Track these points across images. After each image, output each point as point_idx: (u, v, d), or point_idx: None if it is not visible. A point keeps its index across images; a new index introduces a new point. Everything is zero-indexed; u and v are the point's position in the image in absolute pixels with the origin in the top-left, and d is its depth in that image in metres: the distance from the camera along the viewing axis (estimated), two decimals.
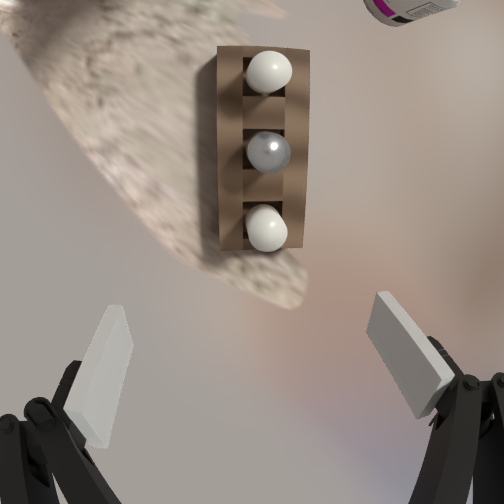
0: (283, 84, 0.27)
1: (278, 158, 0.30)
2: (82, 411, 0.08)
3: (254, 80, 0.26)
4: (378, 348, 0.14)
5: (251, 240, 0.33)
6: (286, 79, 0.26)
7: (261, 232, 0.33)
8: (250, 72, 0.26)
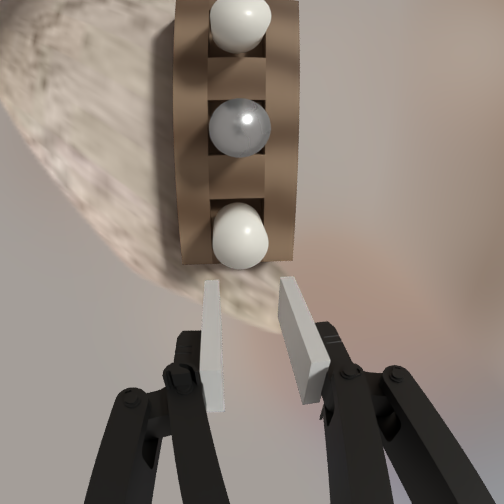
0: (259, 32, 0.17)
1: (252, 135, 0.20)
2: (220, 369, 0.10)
3: (217, 28, 0.16)
4: (283, 332, 0.16)
5: (217, 253, 0.24)
6: (263, 26, 0.17)
7: (231, 242, 0.23)
8: (211, 19, 0.16)
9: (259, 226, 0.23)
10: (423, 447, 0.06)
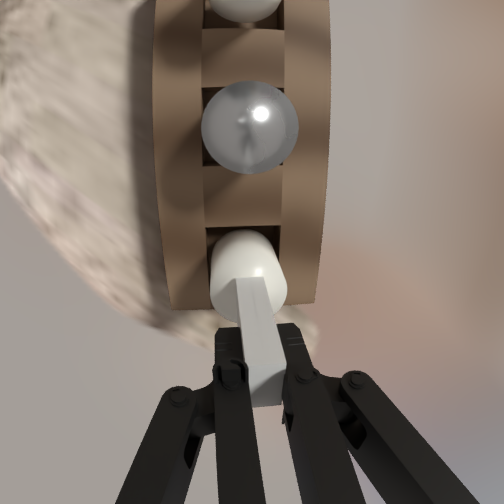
0: None
1: (270, 139, 0.13)
2: (266, 364, 0.10)
3: None
4: None
5: (216, 305, 0.17)
6: None
7: None
8: None
9: (275, 269, 0.16)
10: (393, 456, 0.06)
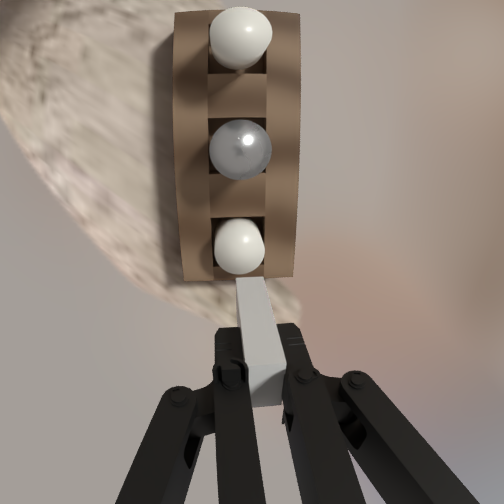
0: (259, 50, 0.17)
1: (253, 157, 0.20)
2: (266, 364, 0.10)
3: (217, 46, 0.17)
4: None
5: (218, 260, 0.26)
6: (264, 43, 0.17)
7: (231, 250, 0.26)
8: (211, 36, 0.16)
9: (256, 235, 0.26)
10: (393, 456, 0.06)
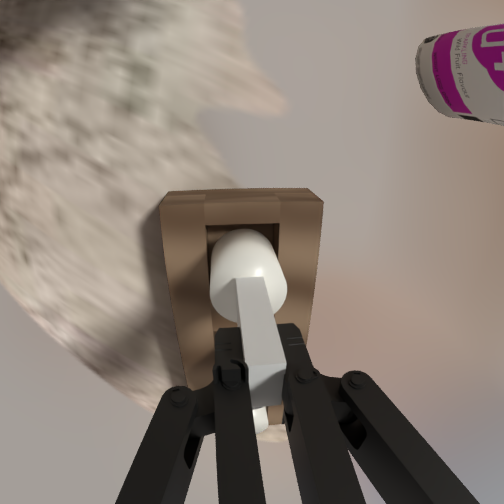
0: None
1: None
2: (266, 364, 0.10)
3: (220, 311, 0.17)
4: None
5: None
6: (276, 305, 0.17)
7: None
8: (212, 299, 0.17)
9: (261, 417, 0.26)
10: (393, 456, 0.06)
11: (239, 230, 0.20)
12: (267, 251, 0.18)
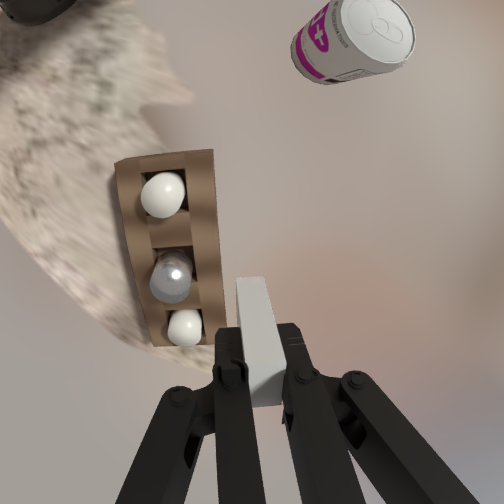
0: (175, 211, 0.30)
1: (178, 290, 0.31)
2: (266, 364, 0.10)
3: (147, 210, 0.30)
4: None
5: (171, 339, 0.37)
6: (177, 205, 0.30)
7: (178, 334, 0.37)
8: (142, 203, 0.29)
9: (193, 325, 0.36)
10: (392, 455, 0.06)
11: (164, 170, 0.32)
12: (173, 176, 0.30)
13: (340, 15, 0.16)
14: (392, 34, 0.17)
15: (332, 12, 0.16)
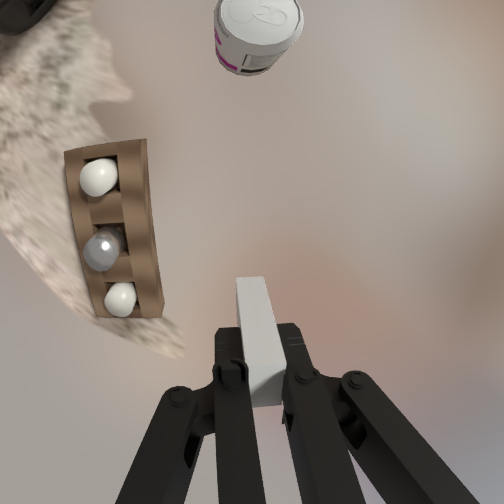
0: (105, 190, 0.32)
1: (105, 259, 0.33)
2: (266, 364, 0.10)
3: (84, 190, 0.32)
4: None
5: (108, 308, 0.39)
6: (107, 185, 0.32)
7: (113, 303, 0.39)
8: (81, 183, 0.32)
9: (125, 296, 0.39)
10: (392, 456, 0.06)
11: (104, 157, 0.35)
12: (107, 161, 0.32)
13: (221, 10, 0.19)
14: (274, 18, 0.19)
15: (217, 8, 0.19)
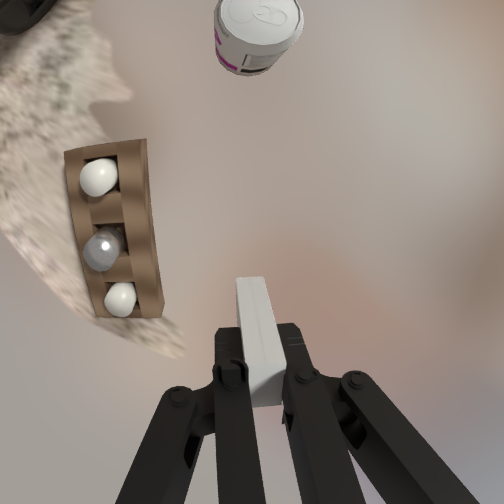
0: (105, 190, 0.32)
1: (105, 259, 0.33)
2: (266, 364, 0.10)
3: (84, 190, 0.32)
4: None
5: (108, 308, 0.39)
6: (107, 185, 0.32)
7: (113, 303, 0.39)
8: (81, 183, 0.32)
9: (125, 296, 0.39)
10: (393, 456, 0.06)
11: (104, 157, 0.35)
12: (107, 161, 0.32)
13: (221, 10, 0.19)
14: (274, 18, 0.19)
15: (217, 8, 0.19)
